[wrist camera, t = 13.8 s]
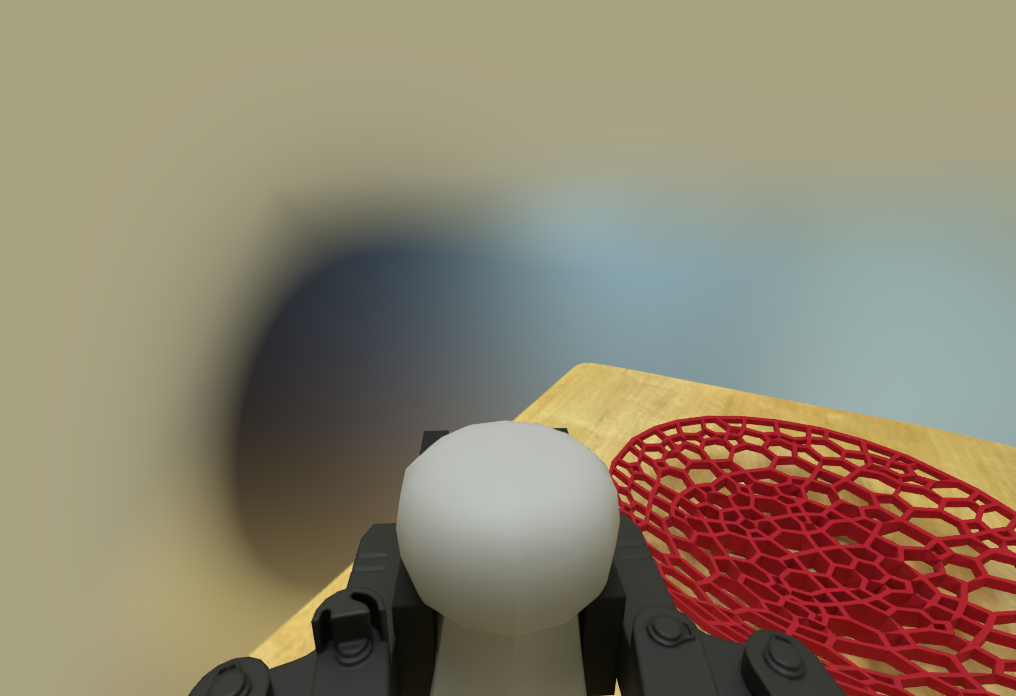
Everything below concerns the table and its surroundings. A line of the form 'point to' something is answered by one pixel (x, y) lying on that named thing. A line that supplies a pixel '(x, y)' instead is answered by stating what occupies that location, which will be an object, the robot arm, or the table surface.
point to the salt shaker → (508, 555)
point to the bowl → (826, 555)
